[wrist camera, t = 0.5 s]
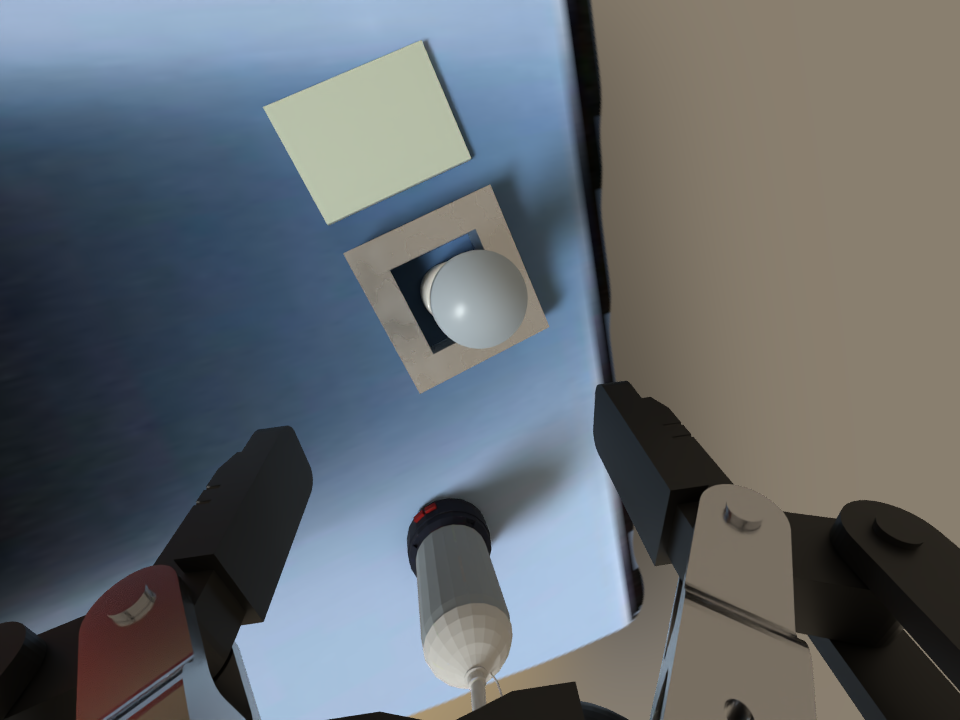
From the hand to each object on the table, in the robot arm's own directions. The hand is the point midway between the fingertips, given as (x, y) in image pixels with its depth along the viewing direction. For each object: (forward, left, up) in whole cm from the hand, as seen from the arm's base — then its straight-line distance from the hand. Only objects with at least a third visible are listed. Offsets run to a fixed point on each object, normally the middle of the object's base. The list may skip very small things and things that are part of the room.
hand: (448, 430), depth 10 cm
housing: (-1, +4, -25) cm, 26 cm away
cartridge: (-1, +4, -25) cm, 26 cm away
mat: (-15, +4, -25) cm, 30 cm away
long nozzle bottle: (+21, -7, -26) cm, 34 cm away
